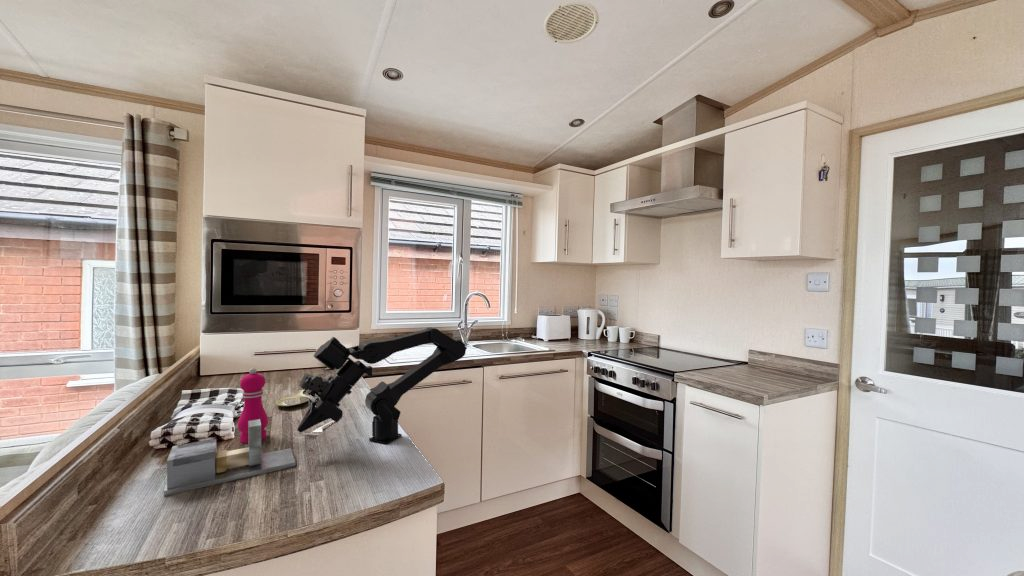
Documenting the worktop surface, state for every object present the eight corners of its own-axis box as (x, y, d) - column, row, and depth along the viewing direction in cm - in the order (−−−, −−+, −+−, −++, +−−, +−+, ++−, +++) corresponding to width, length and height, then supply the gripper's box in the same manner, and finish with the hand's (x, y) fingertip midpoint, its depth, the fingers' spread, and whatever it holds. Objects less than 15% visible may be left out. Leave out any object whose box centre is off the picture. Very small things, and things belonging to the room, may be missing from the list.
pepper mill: (253, 444, 109) (253, 371, 109) (231, 442, 111) (230, 370, 110) (274, 435, 116) (273, 365, 116) (253, 433, 118) (252, 364, 118)
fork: (349, 418, 133) (349, 412, 133) (312, 440, 114) (312, 433, 114) (339, 417, 134) (339, 411, 134) (301, 439, 114) (301, 432, 114)
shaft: (260, 456, 99) (260, 419, 99) (261, 464, 95) (261, 425, 95) (179, 473, 90) (178, 432, 90) (176, 482, 86) (176, 439, 86)
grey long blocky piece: (290, 451, 105) (290, 424, 105) (295, 466, 97) (295, 437, 96) (170, 476, 91) (169, 445, 91) (163, 496, 83) (163, 462, 83)
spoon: (291, 391, 170) (291, 386, 170) (319, 389, 173) (319, 384, 173) (270, 411, 137) (270, 405, 137) (305, 408, 140) (305, 402, 140)
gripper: (314, 356, 112) (269, 403, 106) (326, 368, 96) (274, 424, 90) (345, 380, 116) (303, 426, 110) (362, 395, 101) (314, 450, 95)
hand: (298, 431), depth 101 cm, fingers closed
